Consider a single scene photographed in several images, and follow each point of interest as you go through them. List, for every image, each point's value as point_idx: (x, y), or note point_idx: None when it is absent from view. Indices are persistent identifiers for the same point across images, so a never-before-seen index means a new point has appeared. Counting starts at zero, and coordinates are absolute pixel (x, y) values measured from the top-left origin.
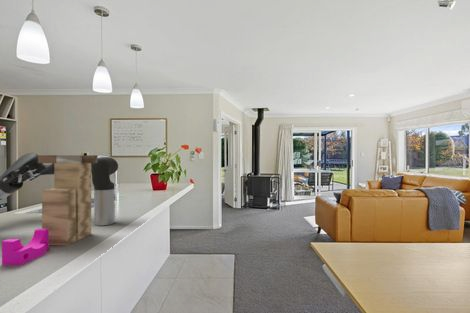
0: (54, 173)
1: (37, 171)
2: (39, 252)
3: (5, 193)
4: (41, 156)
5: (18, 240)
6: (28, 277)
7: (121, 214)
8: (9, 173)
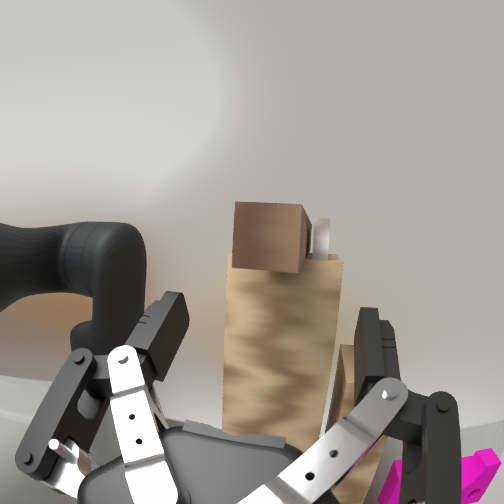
0: (337, 314)
1: (152, 369)
2: None
3: None
4: (303, 216)
5: (479, 451)
6: (484, 438)
7: (23, 411)
8: (456, 436)
